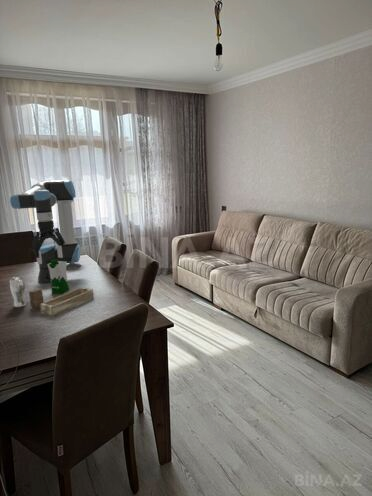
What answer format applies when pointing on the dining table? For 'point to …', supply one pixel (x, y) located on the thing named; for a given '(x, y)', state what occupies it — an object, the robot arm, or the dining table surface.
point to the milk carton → (58, 277)
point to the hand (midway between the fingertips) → (50, 260)
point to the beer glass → (18, 291)
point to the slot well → (66, 301)
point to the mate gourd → (73, 264)
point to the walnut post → (36, 299)
